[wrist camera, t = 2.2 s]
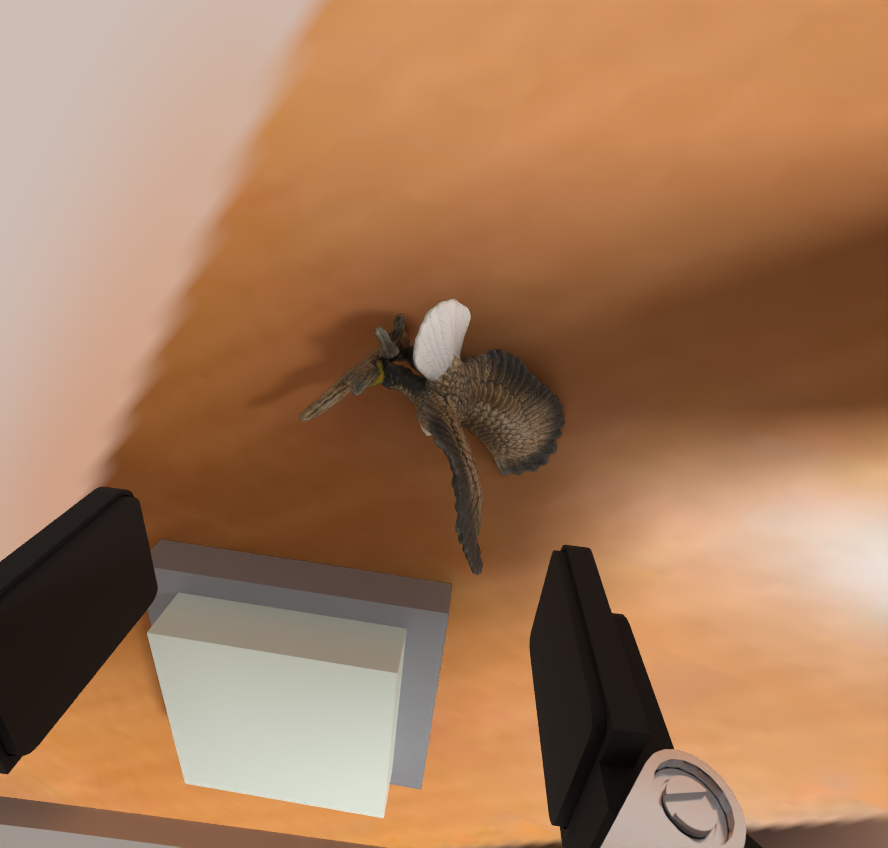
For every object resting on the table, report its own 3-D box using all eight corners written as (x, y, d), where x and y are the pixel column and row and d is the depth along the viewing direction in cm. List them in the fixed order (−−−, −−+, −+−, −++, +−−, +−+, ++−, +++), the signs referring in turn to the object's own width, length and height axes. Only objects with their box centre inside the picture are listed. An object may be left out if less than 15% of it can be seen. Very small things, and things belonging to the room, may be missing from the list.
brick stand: (452, 576, 25) (443, 658, 21) (426, 748, 33) (415, 836, 28) (167, 532, 26) (99, 603, 22) (202, 710, 33) (156, 791, 29)
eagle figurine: (310, 426, 20) (460, 566, 21) (280, 404, 13) (508, 617, 14) (430, 306, 22) (568, 441, 22) (460, 229, 15) (662, 429, 15)
